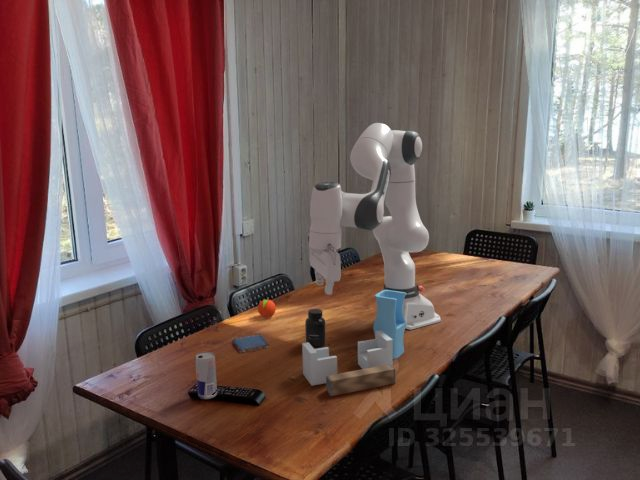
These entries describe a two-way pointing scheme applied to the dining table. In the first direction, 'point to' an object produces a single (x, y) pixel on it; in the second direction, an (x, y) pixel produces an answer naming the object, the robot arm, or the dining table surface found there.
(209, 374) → the energy drink
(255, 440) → the dining table surface
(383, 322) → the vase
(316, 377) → the post
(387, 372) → the rail
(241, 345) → the woven mat
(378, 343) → the post
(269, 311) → the clementine
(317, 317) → the supplement bottle
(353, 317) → the dining table surface
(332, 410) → the dining table surface
